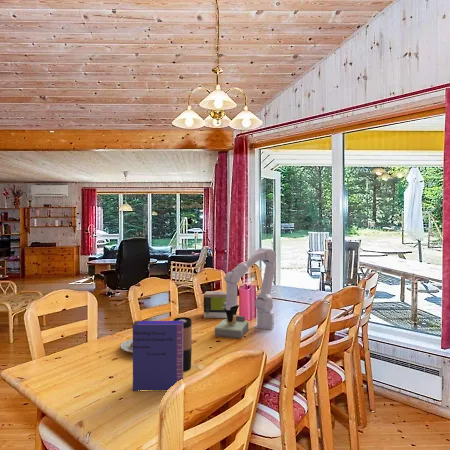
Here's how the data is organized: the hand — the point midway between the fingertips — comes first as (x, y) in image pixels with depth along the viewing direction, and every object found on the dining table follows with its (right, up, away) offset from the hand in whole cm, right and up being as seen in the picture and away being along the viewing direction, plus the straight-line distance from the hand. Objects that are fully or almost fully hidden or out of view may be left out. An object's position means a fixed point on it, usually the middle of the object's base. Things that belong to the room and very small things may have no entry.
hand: (231, 320), depth 190 cm
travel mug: (-21, -8, -44) cm, 49 cm away
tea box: (-9, -6, +32) cm, 34 cm away
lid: (0, -3, +1) cm, 3 cm away
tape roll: (0, -2, 0) cm, 2 cm away
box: (0, -7, +1) cm, 7 cm away
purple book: (-28, -9, -60) cm, 67 cm away
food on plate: (-40, -8, -22) cm, 46 cm away
